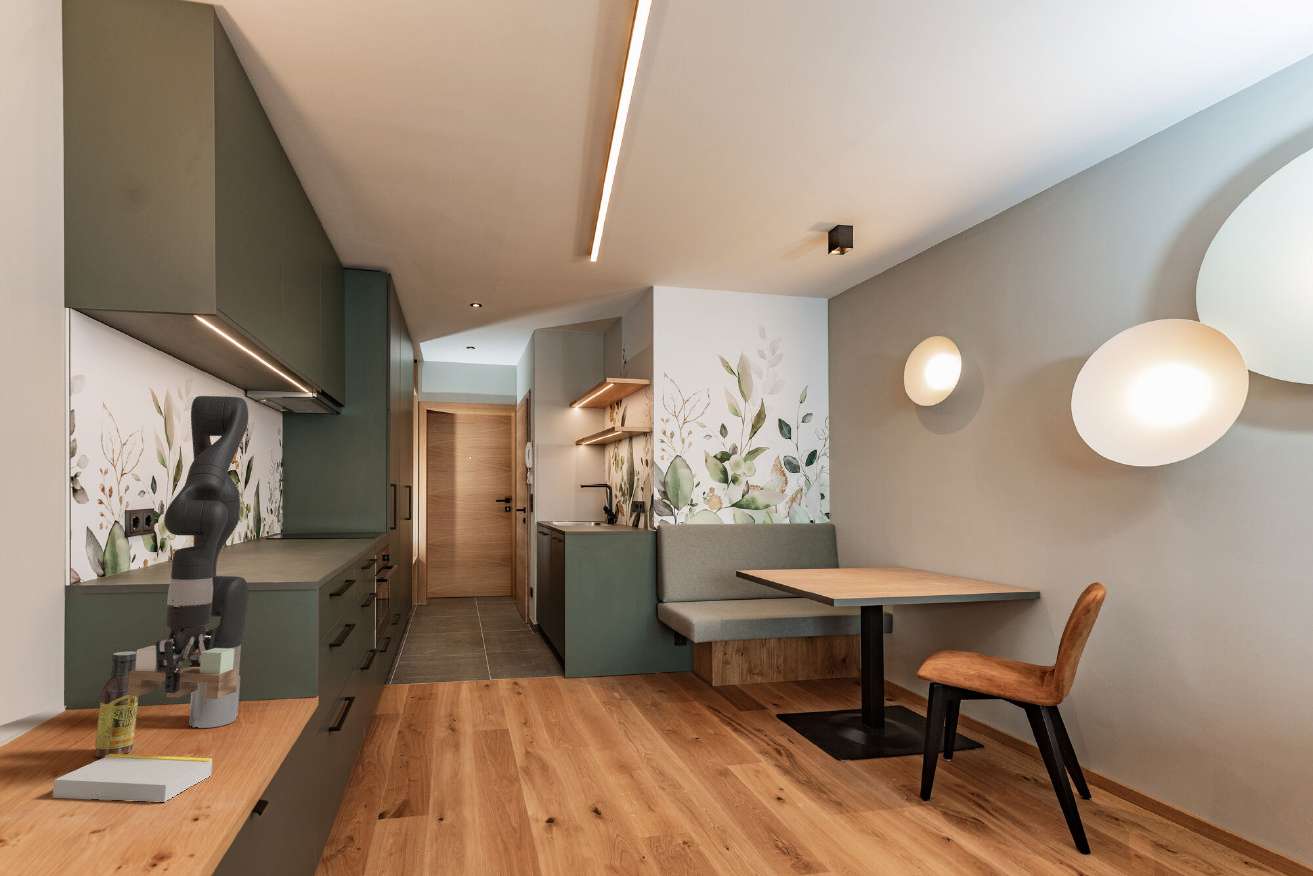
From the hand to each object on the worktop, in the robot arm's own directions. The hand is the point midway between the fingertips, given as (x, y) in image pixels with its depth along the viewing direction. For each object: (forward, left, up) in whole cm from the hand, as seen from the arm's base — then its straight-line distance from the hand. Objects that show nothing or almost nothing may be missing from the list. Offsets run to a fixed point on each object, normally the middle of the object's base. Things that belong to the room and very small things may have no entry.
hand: (183, 687), depth 141 cm
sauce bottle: (-4, -16, -15) cm, 22 cm away
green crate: (0, +6, +3) cm, 7 cm away
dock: (+10, 0, -15) cm, 18 cm away
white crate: (0, -7, +3) cm, 7 cm away
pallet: (0, 0, -1) cm, 1 cm away
